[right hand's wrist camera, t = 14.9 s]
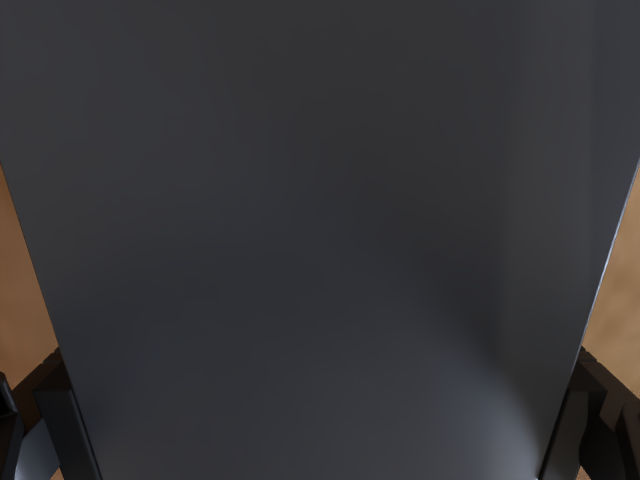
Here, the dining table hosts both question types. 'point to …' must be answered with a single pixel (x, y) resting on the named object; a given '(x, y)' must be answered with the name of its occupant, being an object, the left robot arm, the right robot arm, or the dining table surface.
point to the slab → (319, 224)
